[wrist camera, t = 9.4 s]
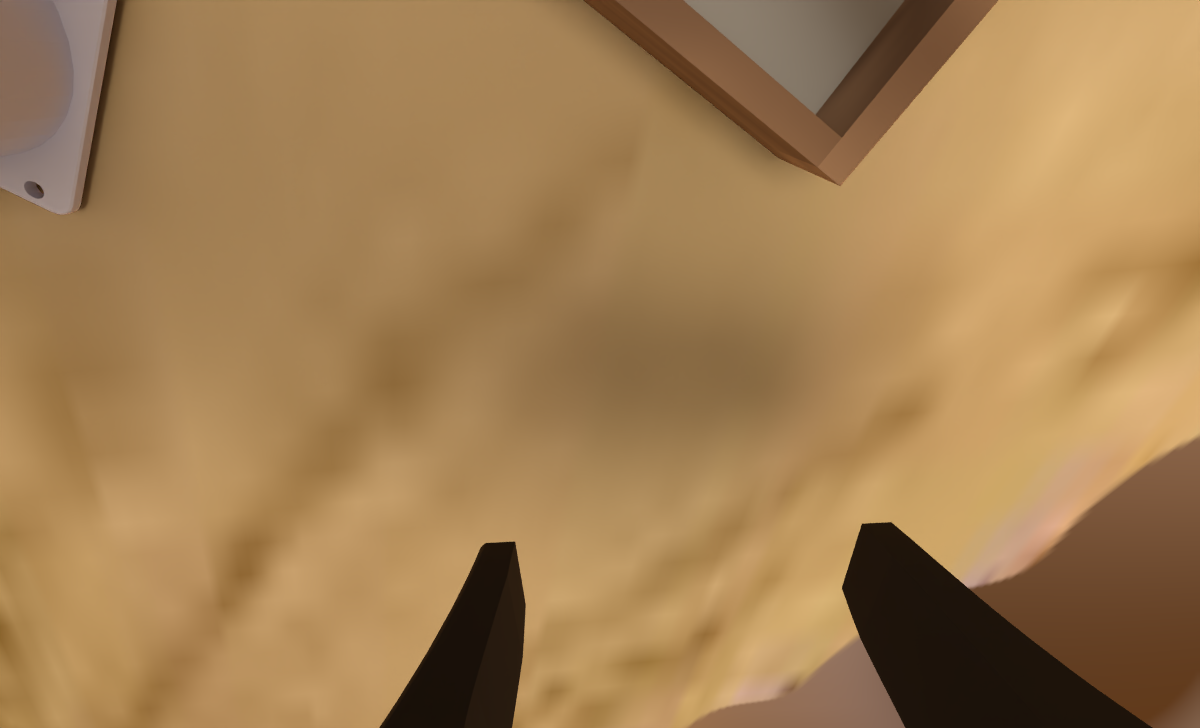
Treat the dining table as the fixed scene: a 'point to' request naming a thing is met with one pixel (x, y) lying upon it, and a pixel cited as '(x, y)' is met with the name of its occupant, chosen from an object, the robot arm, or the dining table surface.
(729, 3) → the box
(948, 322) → the dining table surface
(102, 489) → the dining table surface
